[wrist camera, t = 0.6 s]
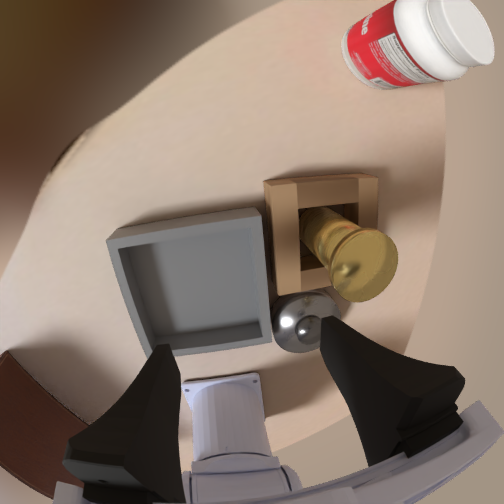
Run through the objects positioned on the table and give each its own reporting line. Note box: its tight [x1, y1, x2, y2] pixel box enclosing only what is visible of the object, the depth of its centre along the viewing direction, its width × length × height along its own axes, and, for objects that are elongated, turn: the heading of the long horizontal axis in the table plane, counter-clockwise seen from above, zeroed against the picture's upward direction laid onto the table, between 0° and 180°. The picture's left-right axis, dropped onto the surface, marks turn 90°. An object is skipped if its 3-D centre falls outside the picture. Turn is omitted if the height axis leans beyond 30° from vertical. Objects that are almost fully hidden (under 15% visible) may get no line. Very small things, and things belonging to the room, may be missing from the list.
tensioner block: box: [263, 173, 378, 296], centre depth 20 cm, size 8×8×2 cm
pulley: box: [270, 288, 341, 353], centre depth 23 cm, size 6×6×3 cm
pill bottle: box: [341, 0, 494, 90], centre depth 12 cm, size 6×6×11 cm
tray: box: [106, 207, 272, 359], centre depth 20 cm, size 10×10×3 cm
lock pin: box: [299, 206, 398, 302], centre depth 18 cm, size 4×4×8 cm
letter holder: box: [0, 351, 89, 499], centre depth 19 cm, size 10×20×14 cm, turn 28°
